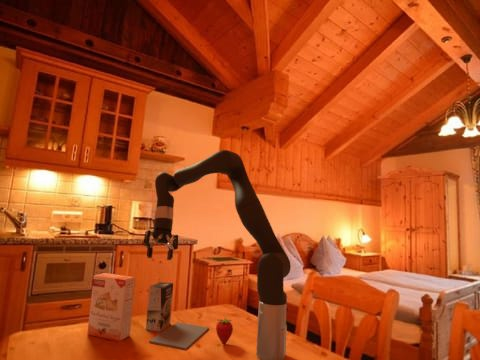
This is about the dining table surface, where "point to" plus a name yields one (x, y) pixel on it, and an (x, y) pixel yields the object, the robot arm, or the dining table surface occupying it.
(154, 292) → the coffee box
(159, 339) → the slate mat
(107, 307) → the cracker box
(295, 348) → the dining table surface
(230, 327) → the strawberry
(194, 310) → the dining table surface
